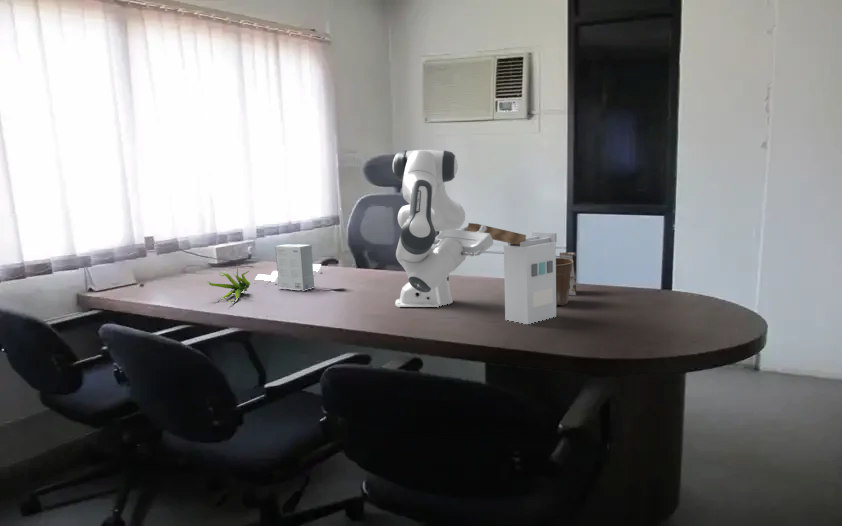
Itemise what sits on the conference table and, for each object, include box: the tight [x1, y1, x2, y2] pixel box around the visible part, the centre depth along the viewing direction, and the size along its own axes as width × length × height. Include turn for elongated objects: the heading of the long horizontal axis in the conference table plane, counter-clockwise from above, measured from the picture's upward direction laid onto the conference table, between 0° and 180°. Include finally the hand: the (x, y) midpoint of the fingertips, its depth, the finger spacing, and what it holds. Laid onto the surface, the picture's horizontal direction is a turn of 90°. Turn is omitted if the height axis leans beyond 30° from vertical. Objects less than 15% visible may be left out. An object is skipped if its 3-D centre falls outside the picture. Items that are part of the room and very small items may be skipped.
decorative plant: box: [208, 267, 251, 306], centre depth 279 cm, size 18×30×15 cm, turn 156°
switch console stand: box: [503, 231, 558, 325], centre depth 227 cm, size 16×10×29 cm
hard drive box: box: [274, 243, 315, 290], centre depth 298 cm, size 16×8×20 cm, turn 58°
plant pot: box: [556, 257, 573, 307], centre depth 251 cm, size 16×16×16 cm
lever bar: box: [467, 222, 527, 245], centre depth 215 cm, size 24×4×4 cm, turn 131°
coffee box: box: [559, 251, 577, 296], centre depth 267 cm, size 9×6×16 cm
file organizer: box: [254, 263, 323, 282], centre depth 328 cm, size 13×35×5 cm, turn 147°
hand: (478, 226), depth 209 cm, fingers closed on lever bar, 3 cm apart
